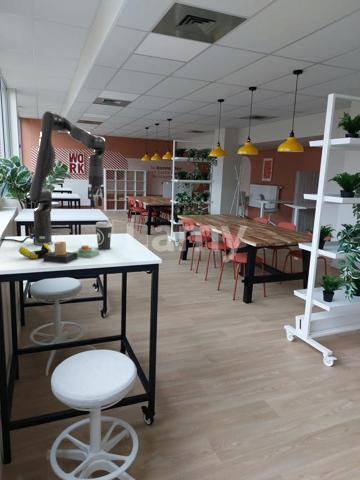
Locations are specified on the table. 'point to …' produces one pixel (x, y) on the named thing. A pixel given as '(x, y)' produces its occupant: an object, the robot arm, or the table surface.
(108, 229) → the coffee cup
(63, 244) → the knob
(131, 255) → the table surface
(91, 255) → the button box
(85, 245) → the button
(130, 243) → the table surface
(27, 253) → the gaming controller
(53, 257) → the panel
